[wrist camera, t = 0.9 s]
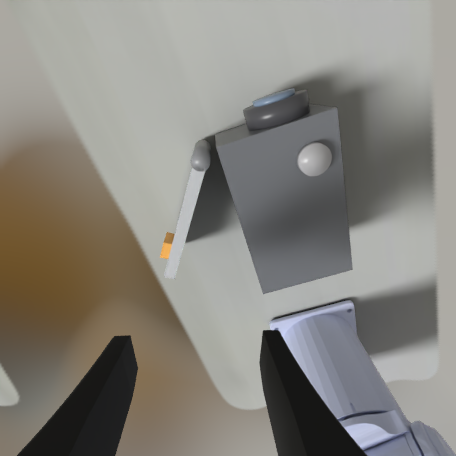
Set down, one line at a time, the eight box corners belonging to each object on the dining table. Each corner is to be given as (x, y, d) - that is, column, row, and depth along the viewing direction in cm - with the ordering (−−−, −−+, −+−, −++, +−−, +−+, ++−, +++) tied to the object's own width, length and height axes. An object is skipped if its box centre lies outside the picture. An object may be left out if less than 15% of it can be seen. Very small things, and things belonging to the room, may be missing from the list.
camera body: (325, 235, 21) (356, 274, 16) (253, 256, 21) (264, 299, 17) (302, 81, 16) (339, 77, 11) (208, 114, 16) (207, 122, 12)
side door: (182, 248, 20) (176, 279, 17) (164, 243, 20) (155, 274, 16) (212, 142, 16) (212, 155, 13) (190, 135, 16) (185, 147, 13)
